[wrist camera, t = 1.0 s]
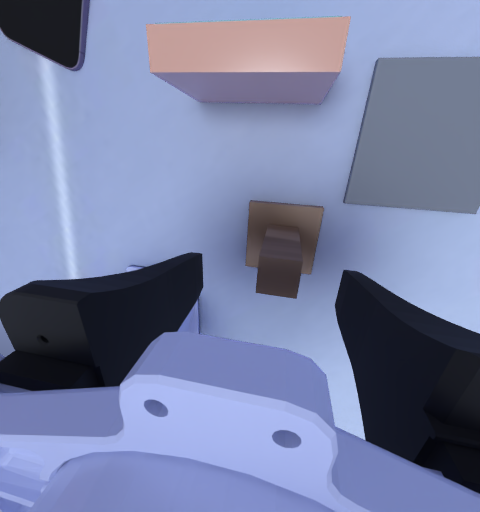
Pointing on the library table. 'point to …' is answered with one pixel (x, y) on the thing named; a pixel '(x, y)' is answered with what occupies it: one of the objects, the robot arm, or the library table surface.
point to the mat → (420, 136)
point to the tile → (250, 58)
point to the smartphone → (48, 28)
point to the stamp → (282, 244)
